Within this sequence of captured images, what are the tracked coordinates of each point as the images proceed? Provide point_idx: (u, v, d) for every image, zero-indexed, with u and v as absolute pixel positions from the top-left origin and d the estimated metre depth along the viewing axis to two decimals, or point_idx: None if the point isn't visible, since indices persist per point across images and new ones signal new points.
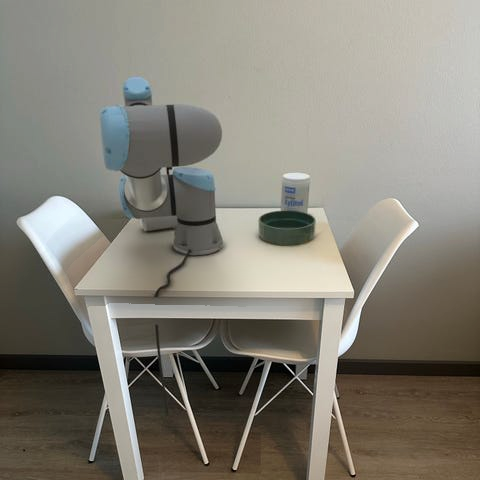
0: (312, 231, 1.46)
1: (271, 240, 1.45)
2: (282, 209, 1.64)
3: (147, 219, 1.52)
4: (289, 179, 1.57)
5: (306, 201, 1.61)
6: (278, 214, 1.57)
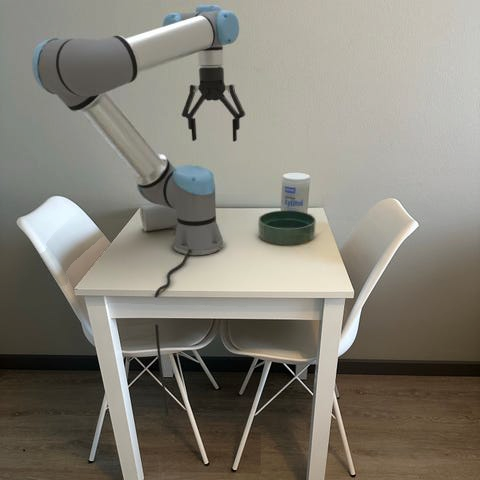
0: (312, 231, 1.46)
1: (271, 240, 1.45)
2: (282, 209, 1.64)
3: (147, 219, 1.52)
4: (289, 179, 1.57)
5: (306, 201, 1.61)
6: (278, 214, 1.57)
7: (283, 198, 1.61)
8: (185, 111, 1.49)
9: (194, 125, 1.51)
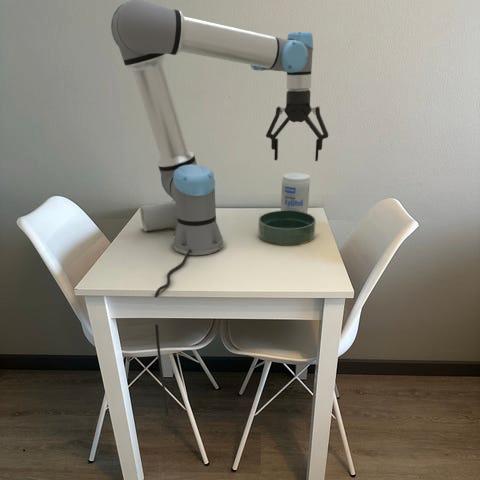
0: (312, 231, 1.46)
1: (271, 240, 1.45)
2: (282, 209, 1.64)
3: (147, 219, 1.52)
4: (289, 179, 1.57)
5: (306, 201, 1.61)
6: (278, 214, 1.57)
7: (283, 198, 1.61)
8: (269, 132, 1.53)
9: (277, 145, 1.55)
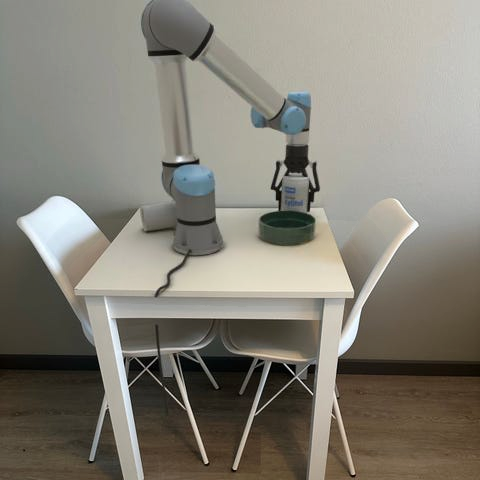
0: (312, 231, 1.46)
1: (271, 240, 1.45)
2: (282, 209, 1.64)
3: (147, 219, 1.52)
4: (289, 179, 1.57)
5: (306, 201, 1.61)
6: (278, 214, 1.57)
7: (283, 198, 1.61)
8: (273, 185, 1.62)
9: None
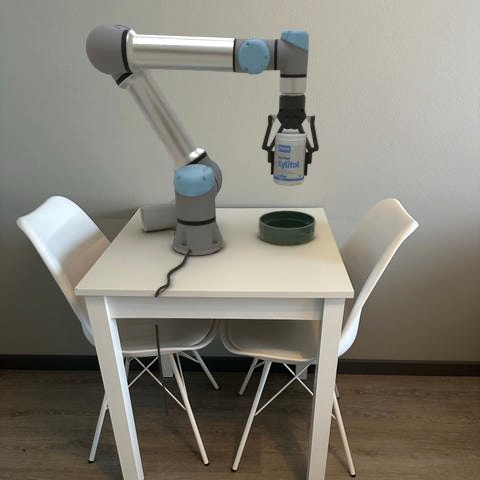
0: (312, 231, 1.46)
1: (271, 240, 1.45)
2: (275, 172, 1.42)
3: (147, 219, 1.52)
4: (283, 136, 1.35)
5: (303, 162, 1.40)
6: (278, 214, 1.57)
7: (276, 159, 1.40)
8: (265, 143, 1.40)
9: (273, 158, 1.42)
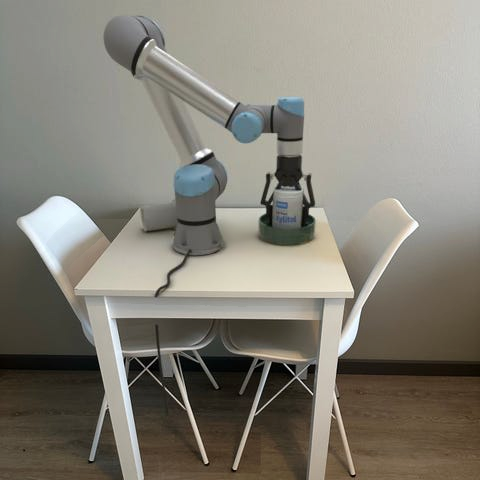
0: (312, 231, 1.46)
1: (271, 240, 1.45)
2: (273, 225, 1.48)
3: (147, 219, 1.52)
4: (281, 193, 1.41)
5: (300, 217, 1.46)
6: None
7: (274, 213, 1.46)
8: (263, 199, 1.46)
9: None
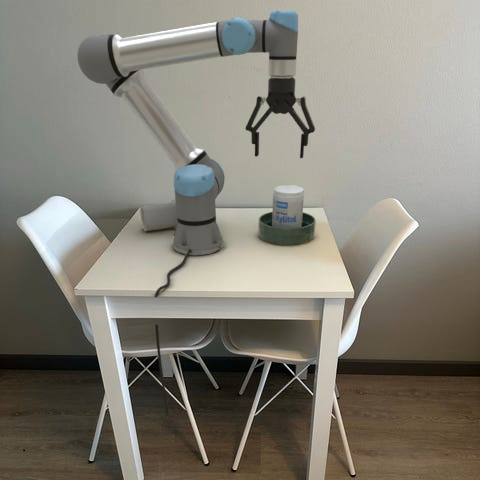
0: (312, 231, 1.46)
1: (271, 240, 1.45)
2: (273, 225, 1.48)
3: (147, 219, 1.52)
4: (281, 193, 1.41)
5: (300, 217, 1.46)
6: None
7: (274, 213, 1.46)
8: (249, 124, 1.37)
9: (257, 139, 1.39)
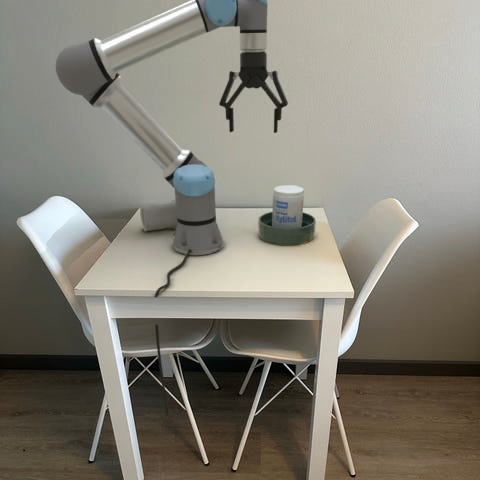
0: (312, 231, 1.46)
1: (271, 240, 1.45)
2: (273, 225, 1.48)
3: (147, 219, 1.52)
4: (281, 193, 1.41)
5: (300, 217, 1.46)
6: None
7: (274, 213, 1.46)
8: (223, 100, 1.38)
9: (232, 115, 1.40)
